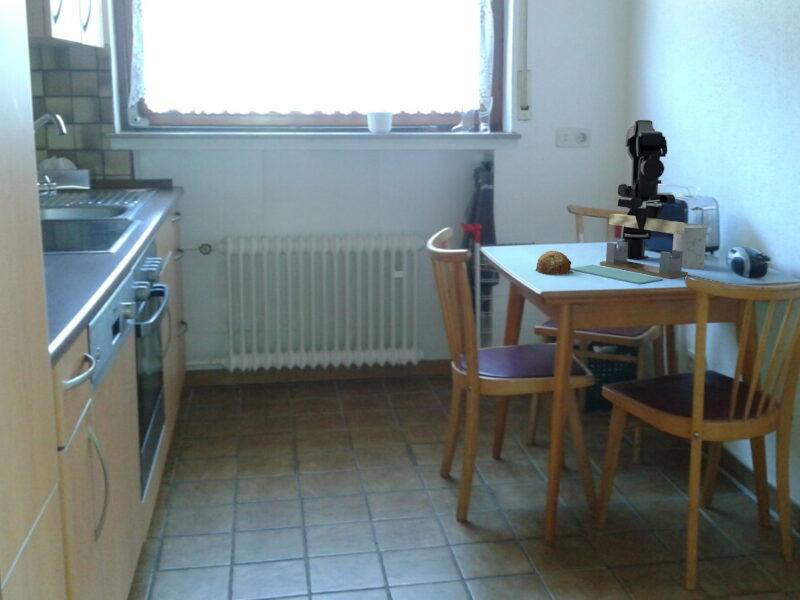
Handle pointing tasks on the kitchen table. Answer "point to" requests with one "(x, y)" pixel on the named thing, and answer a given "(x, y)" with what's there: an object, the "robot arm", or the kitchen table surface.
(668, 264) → the bracketed wooden plank
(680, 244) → the grey stone cylinder
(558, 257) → the bread roll
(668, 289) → the kitchen table surface
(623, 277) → the mat
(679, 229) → the rail
